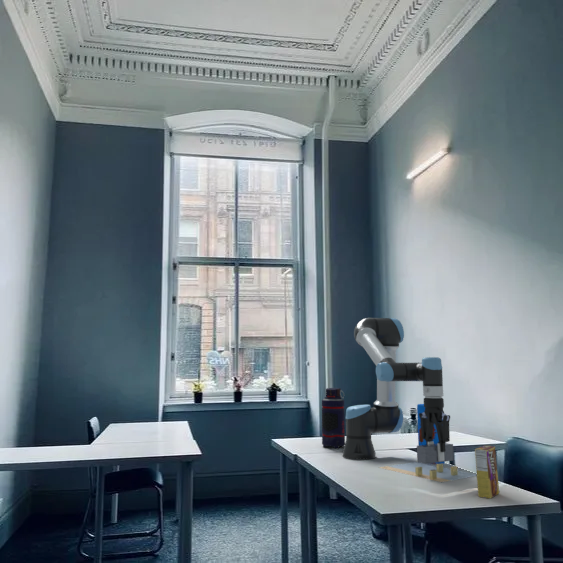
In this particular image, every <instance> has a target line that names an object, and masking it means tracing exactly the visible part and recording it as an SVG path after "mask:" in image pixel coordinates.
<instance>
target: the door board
mask: <svg viewBox="0 0 563 563" xmlns="http://www.w3.org/2000/svg"><path fill="white" fill-rule="evenodd" d="M415 467H422V475H421V476H416V471H415ZM378 468H379V469H383V470H388V471H391V472H396V473H401V474H405V475H409V476H414V477H418V478H422V479H427V480H430V481H434V482H438V483H439V482H440V483H446V482H451V481H452V482H453V481H456V480H463V479H467V478H472V477H477V473H472V472H467V471H461V470H458V469H457V471H458V475H451V468H448V467H443V472H437V479H430V470H436V471H437V467H436V465H434V464H424V463H418V462H417V461H414V462H413V461H412V462H405V463H400V464H399V463H398V464H393V465H392V464H391V465H387V466H380V467H378Z"/></svg>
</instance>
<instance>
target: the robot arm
mask: <svg viewBox="0 0 563 563" xmlns="http://www.w3.org/2000/svg"><path fill="white" fill-rule="evenodd" d="M353 338H354V339H355V341H356V343H357V344H358V345H359V346H360V347H362V348H363V349H364V350H365V351H366V354H367V355H368V356H369V358H370V359H371V361H372V362H373V364H374V365H375V375H376V379H377V380H376V400H375V401H374V402H373V407H372V406H371V404H357V405H352V406H348V407H347V408H346V411H345V445H344V447H343V450H342V457H343V458H344V459H345V458H346V459H349V460H350V459H351V460H373V459H375V458H376V456H377V455H376V451H375V448H374V444H373V441H372V434H386V433H387V434H391V433H397V432H399V431H400V430H401V429H402V427H403V424H404V413H403V409H402V408H401V407H399V403H398V402H397V400H396V382H422V390H423V391H422V392H423V394H422V395H423V404H424V407H425V411H424V412H423V413H419V417H420V420H421V435H422V439H424V440H426V445H429V444H434V441H433V439H432V435H433V426H434V424H435V425H436V429H437V434H438V439H439V442H438V443H437V446H438V461H445V459H444V452H445V443H450V441H451V440H450V435H451V434H450V420H451V415H450V414H449V415H447V414H446V413H445V411H444V407H445V404H444V403H445V400H444V398H443V397H444V385H443V384H444V383H443V382H444V381H443V379H444V378H443V364H442V359H441V358H440V357H435V356H433V357H430V356H429V357H423V358H422V359H421V362H397V361H396V360H397V354H396V352H397V349H398V348H400V344H401V343H403V342H404V338H405V331H404V327H403V324H402V322H401V321H400V320H399V319H398V318H392V317H365V318H363V319H360V321H359V322H358V323H357V324H356V325H355V327H354V330H353ZM426 417H427V418H426ZM442 417H443V418H442ZM442 419H443V421H442ZM442 425H443V426H442ZM445 462H446V461H445Z"/></svg>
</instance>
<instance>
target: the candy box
mask: <svg viewBox="0 0 563 563" xmlns="http://www.w3.org/2000/svg"><path fill="white" fill-rule="evenodd" d="M496 451H497V450H496V446H493V445H482V446H479V447H476V448H475V449H474V455H475V456H474V457H475V469H476V474H477V476H476V482H477V495H478V496H479V498H483V497H486V498H485V499H489V498H490V499H492V498H494V497H495V496H497V495H498V494H500V488H499V476H498V475H499V474H498V463H497V453H496Z"/></svg>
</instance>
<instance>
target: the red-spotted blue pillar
mask: <svg viewBox="0 0 563 563" xmlns="http://www.w3.org/2000/svg"><path fill="white" fill-rule="evenodd" d="M416 406H417V407H416V411H417V412H416V414H417V415H416V416H417V440H418V444H417V446H419V445H426V440H424V439H422V435H421V420H420V417H419V413H423V412H424V411H425V407H424V403H418V404H417V405H416ZM426 418H427V417H426ZM442 418H443V417H442ZM442 421H443V419H442ZM442 426H443V425H442ZM432 439H433V441H434V444H437V443H438V442H439V439H438V434H437V429H436V425H435V424H434V426H433V435H432ZM445 462H446V461H445ZM445 462H437V463H429V465H436V464H439V463H442V464H445Z"/></svg>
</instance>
